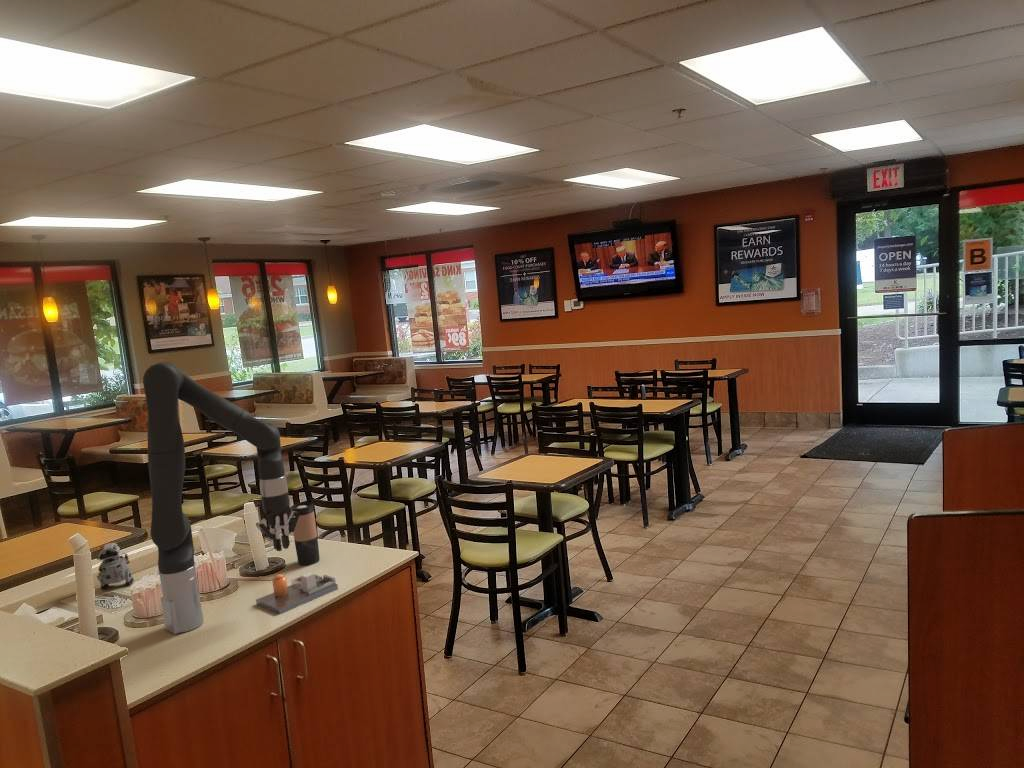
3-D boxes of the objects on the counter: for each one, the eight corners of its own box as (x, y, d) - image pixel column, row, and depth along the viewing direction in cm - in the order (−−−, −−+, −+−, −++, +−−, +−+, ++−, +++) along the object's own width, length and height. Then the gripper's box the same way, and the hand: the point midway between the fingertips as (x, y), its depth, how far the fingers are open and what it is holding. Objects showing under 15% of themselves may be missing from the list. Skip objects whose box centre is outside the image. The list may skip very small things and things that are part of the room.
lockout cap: (278, 597, 215) (276, 579, 214) (271, 594, 218) (269, 576, 217) (290, 592, 218) (288, 574, 217) (283, 590, 221) (281, 572, 220)
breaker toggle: (308, 593, 216) (306, 577, 215) (302, 591, 218) (300, 575, 217) (316, 589, 218) (314, 573, 218) (311, 587, 220) (309, 571, 220)
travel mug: (323, 557, 252) (316, 501, 249) (315, 565, 244) (308, 508, 241) (302, 558, 252) (295, 503, 250) (294, 566, 245) (286, 509, 242)
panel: (279, 614, 207) (278, 603, 206) (256, 604, 216) (255, 593, 215) (338, 588, 222) (336, 578, 221) (314, 580, 230) (312, 570, 230)
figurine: (94, 597, 234) (86, 553, 232) (107, 584, 245) (100, 541, 243) (124, 592, 235) (117, 548, 233) (136, 579, 247) (129, 537, 245)
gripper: (259, 500, 201) (267, 559, 204) (302, 487, 211) (309, 544, 214) (246, 496, 206) (254, 554, 209) (288, 484, 216) (296, 540, 219)
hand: (282, 549), depth 211 cm, fingers closed
